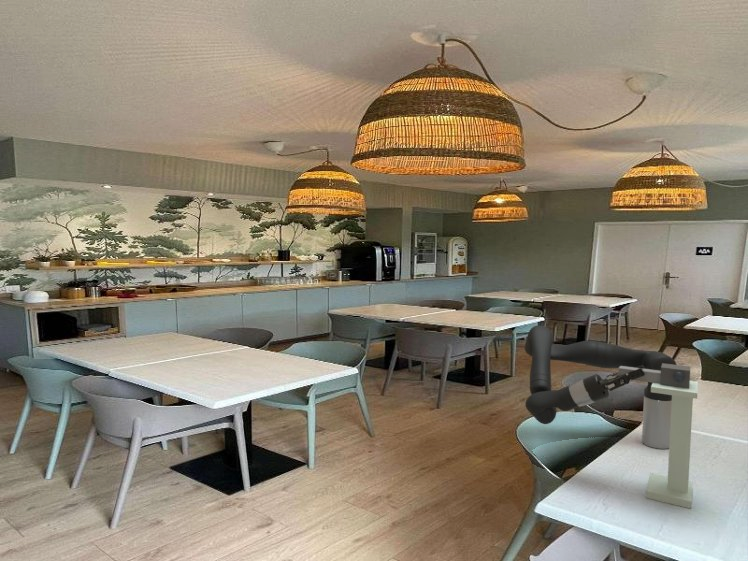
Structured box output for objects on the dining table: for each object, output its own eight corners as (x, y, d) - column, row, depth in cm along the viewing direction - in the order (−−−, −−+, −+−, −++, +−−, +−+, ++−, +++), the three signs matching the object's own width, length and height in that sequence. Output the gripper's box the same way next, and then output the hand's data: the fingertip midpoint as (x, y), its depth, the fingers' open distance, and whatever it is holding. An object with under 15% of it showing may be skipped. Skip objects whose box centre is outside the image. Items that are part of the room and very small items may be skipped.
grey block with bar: (620, 374, 157) (621, 358, 157) (689, 383, 147) (690, 366, 147) (617, 379, 151) (617, 362, 150) (689, 389, 141) (689, 371, 141)
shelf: (649, 478, 157) (654, 376, 155) (692, 488, 152) (697, 381, 149) (645, 497, 146) (651, 386, 143) (691, 508, 140) (697, 393, 137)
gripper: (598, 396, 164) (652, 376, 156) (590, 408, 152) (648, 387, 144) (586, 374, 166) (639, 354, 157) (577, 384, 154) (634, 362, 145)
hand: (643, 370), depth 150 cm, fingers closed on grey block with bar, 3 cm apart
